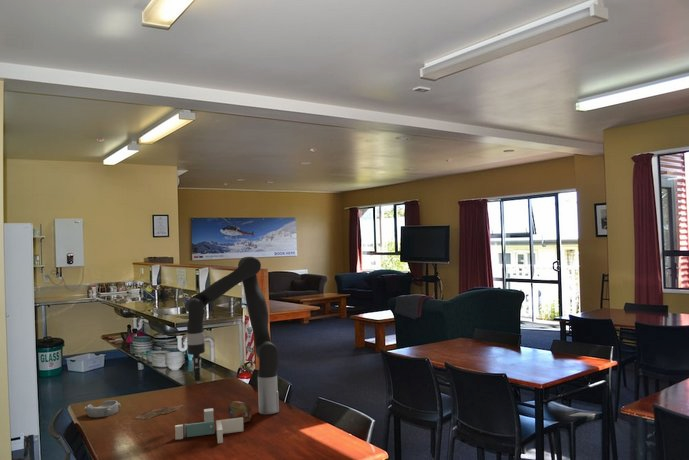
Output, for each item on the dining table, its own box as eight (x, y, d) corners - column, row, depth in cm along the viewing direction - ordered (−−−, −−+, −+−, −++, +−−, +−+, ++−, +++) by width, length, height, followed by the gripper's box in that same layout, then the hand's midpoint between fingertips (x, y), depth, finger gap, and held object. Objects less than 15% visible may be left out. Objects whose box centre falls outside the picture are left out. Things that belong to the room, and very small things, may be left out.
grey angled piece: (243, 429, 231) (242, 417, 231) (246, 439, 219) (245, 426, 219) (175, 438, 223) (175, 425, 224) (174, 449, 211) (174, 435, 211)
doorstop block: (213, 423, 240) (213, 408, 241) (213, 426, 237) (213, 410, 237) (204, 424, 239) (203, 409, 239) (204, 427, 235) (204, 411, 236)
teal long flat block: (214, 432, 228) (214, 420, 228) (214, 434, 226) (214, 421, 226) (183, 436, 224) (183, 423, 224) (183, 438, 222) (183, 425, 222)
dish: (80, 417, 257) (80, 406, 257) (103, 408, 270) (103, 398, 270) (103, 420, 252) (103, 409, 252) (125, 411, 264) (125, 401, 265)
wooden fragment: (140, 422, 247) (140, 419, 247) (129, 417, 255) (129, 415, 255) (190, 408, 266) (190, 406, 266) (178, 404, 274) (178, 402, 274)
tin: (227, 418, 248) (227, 400, 248) (233, 416, 250) (233, 398, 250) (247, 424, 237) (247, 405, 238) (253, 423, 240) (252, 404, 240)
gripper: (204, 344, 235) (206, 381, 234) (204, 339, 249) (205, 374, 248) (186, 346, 233) (188, 383, 233) (187, 340, 247) (189, 375, 246)
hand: (197, 378), depth 240 cm, fingers open, 8 cm apart
